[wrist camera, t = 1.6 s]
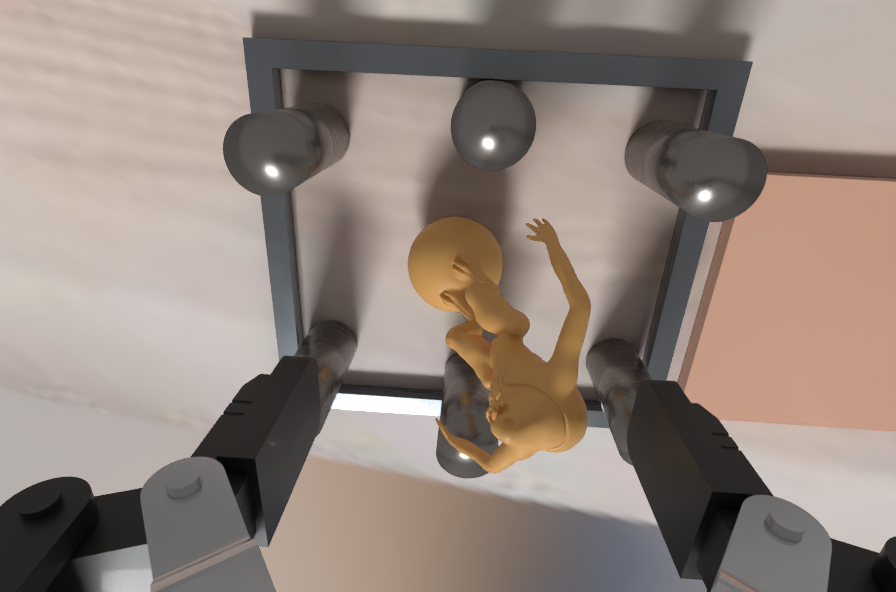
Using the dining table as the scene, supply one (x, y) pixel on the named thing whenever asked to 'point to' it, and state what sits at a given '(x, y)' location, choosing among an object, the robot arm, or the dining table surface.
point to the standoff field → (492, 148)
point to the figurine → (505, 339)
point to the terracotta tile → (801, 308)
